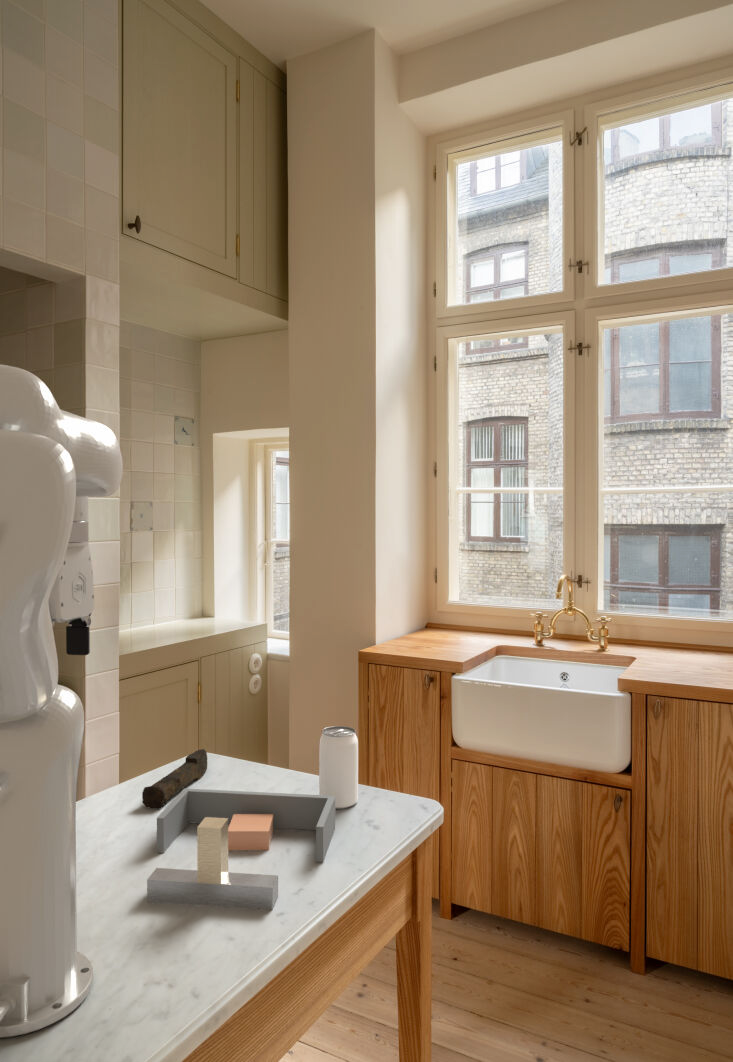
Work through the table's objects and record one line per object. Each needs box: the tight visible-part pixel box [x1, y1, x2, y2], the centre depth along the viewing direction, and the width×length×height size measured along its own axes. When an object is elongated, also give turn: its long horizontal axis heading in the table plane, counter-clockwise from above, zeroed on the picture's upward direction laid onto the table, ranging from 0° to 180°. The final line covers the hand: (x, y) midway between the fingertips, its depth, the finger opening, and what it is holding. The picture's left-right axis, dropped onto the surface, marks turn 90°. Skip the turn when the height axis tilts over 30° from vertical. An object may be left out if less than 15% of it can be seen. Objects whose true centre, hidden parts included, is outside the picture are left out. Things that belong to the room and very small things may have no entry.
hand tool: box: [141, 748, 208, 810], centre depth 129 cm, size 19×4×5 cm, turn 162°
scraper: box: [146, 817, 279, 911], centre depth 93 cm, size 3×16×10 cm, turn 83°
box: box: [156, 787, 336, 863], centre depth 109 cm, size 11×24×5 cm, turn 84°
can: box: [318, 725, 359, 810], centre depth 123 cm, size 6×6×12 cm
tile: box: [228, 814, 274, 851], centre depth 109 cm, size 6×6×3 cm
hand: (59, 661), depth 100 cm, fingers open, 9 cm apart
